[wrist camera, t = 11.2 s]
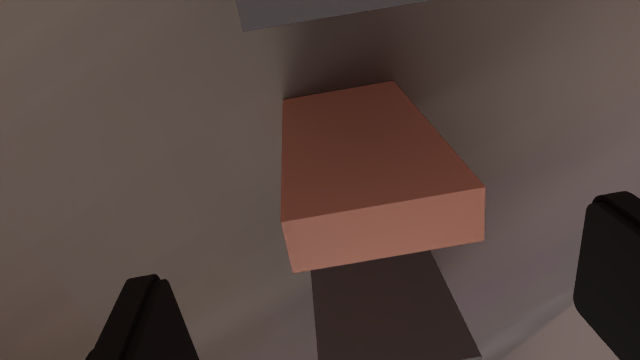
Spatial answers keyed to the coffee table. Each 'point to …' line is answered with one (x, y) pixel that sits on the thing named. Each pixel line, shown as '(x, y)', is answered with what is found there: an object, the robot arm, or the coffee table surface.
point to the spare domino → (370, 180)
